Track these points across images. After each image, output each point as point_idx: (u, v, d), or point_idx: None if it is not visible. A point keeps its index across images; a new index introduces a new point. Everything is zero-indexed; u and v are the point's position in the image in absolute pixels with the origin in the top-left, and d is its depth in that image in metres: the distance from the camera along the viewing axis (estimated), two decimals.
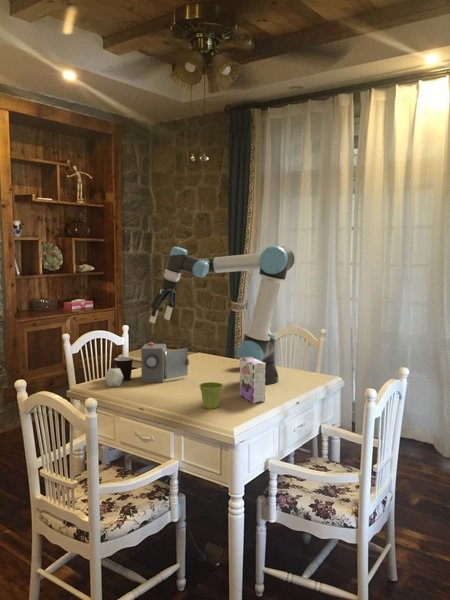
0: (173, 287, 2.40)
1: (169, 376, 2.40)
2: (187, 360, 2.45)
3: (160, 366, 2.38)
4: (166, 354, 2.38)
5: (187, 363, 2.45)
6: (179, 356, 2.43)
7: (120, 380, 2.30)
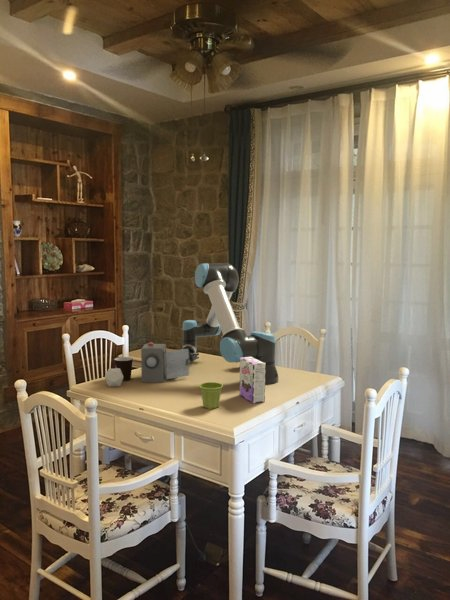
0: (184, 347, 2.66)
1: (169, 376, 2.40)
2: (188, 360, 2.44)
3: (160, 366, 2.38)
4: (166, 354, 2.38)
5: (188, 363, 2.44)
6: (180, 356, 2.42)
7: (120, 380, 2.30)
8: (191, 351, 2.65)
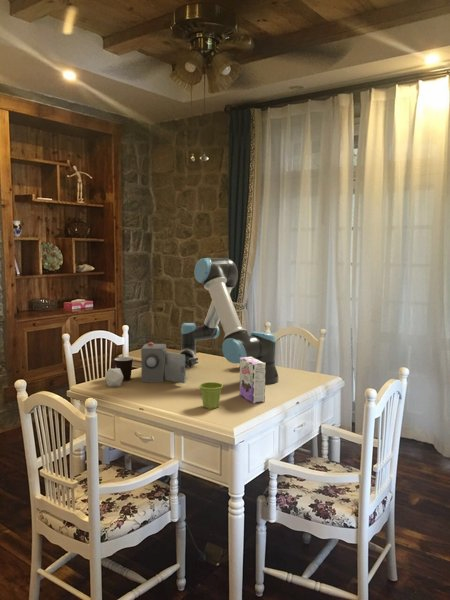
0: (182, 351, 2.54)
1: (167, 377, 2.37)
2: (181, 367, 2.30)
3: (160, 366, 2.38)
4: (164, 354, 2.37)
5: (181, 370, 2.30)
6: (176, 360, 2.33)
7: (120, 380, 2.30)
8: (190, 356, 2.53)
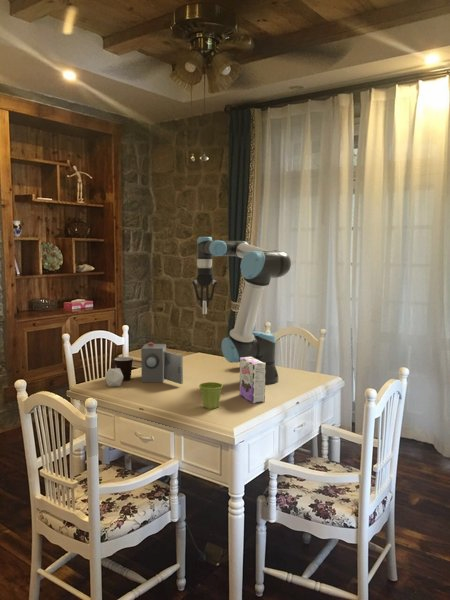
0: (200, 273, 2.56)
1: (166, 377, 2.37)
2: (178, 368, 2.29)
3: (160, 366, 2.38)
4: (164, 354, 2.37)
5: (178, 371, 2.29)
6: (174, 361, 2.32)
7: (120, 380, 2.30)
8: (208, 275, 2.57)
